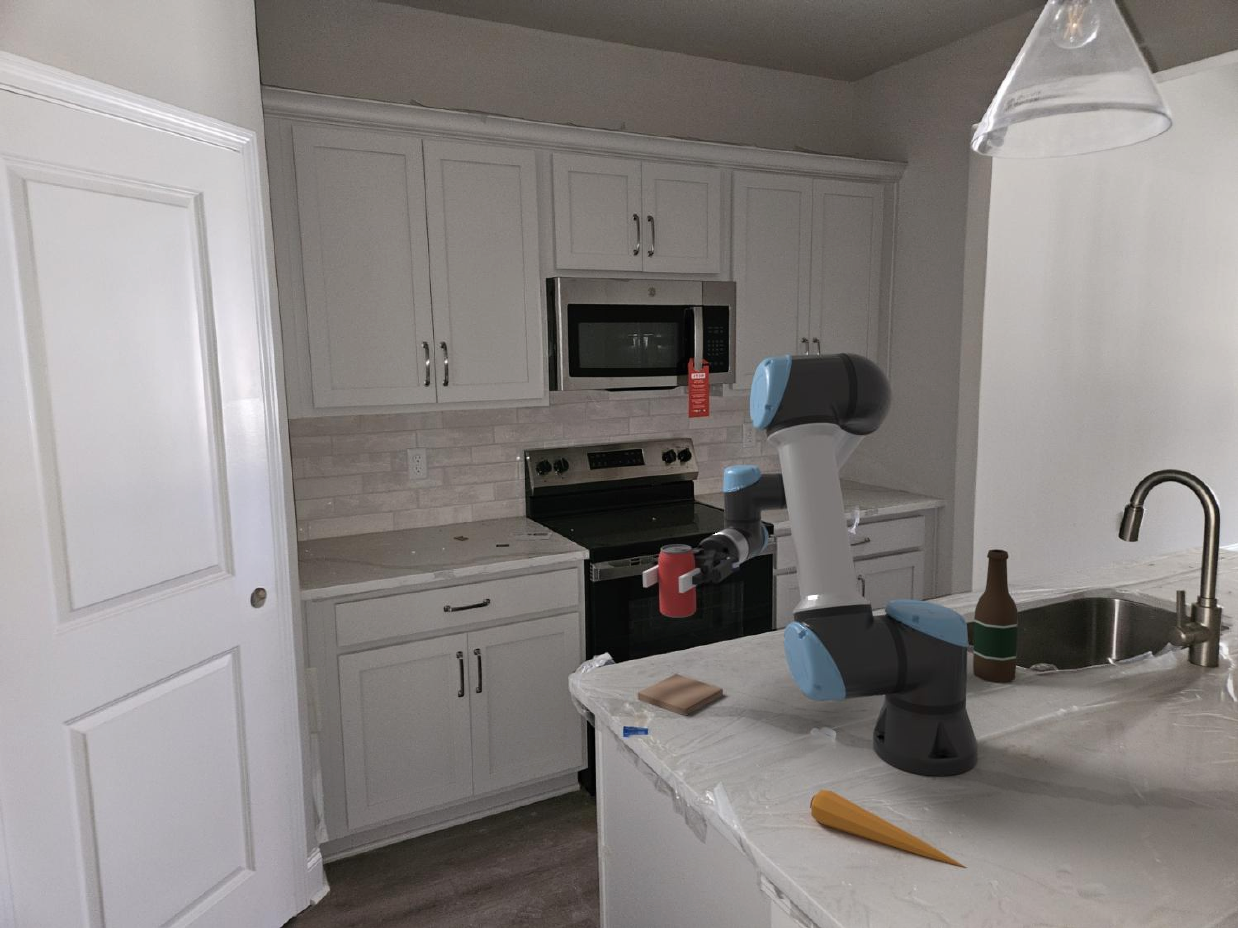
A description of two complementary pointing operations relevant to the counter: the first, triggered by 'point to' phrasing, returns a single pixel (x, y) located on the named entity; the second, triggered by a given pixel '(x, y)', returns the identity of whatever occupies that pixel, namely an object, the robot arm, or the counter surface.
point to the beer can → (675, 581)
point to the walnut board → (680, 694)
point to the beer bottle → (995, 625)
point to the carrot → (868, 825)
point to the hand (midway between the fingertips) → (662, 582)
